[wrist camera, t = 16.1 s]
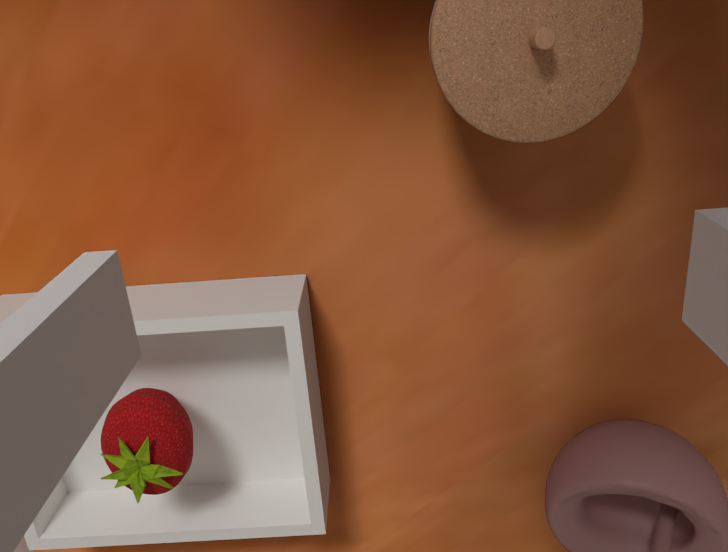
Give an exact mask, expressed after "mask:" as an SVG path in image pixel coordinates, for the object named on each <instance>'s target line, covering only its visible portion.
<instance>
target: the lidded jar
mask: <svg viewBox="0 0 728 552" xmlns="http://www.w3.org/2000/svg"><path fill="white" fill-rule="evenodd" d="M643 25H644V14H643V1H642V0H436V1H435V4H434V8H433V11H432V15H431V19H430V28H429V52H430V57H431V63H432V67H433V71H434V74H435V77H436V80H437V83H438V86H439V87H440V89H441V91H442V93H443V95H444V97H445V98H446V100H447V101H448V103H449V104H450V105H451V107H452V108H453V109H454V110H455V112H456V113H457V114H458V115H459V116H460V117H461V118H463V119H464V120H465V121H466V122H467V123H468V124H469V125H471V126H472V127H474V128H475V129H477V130H479V131H480V132H482V133H484V134H486V135H489V136H491V137H493V138H496V139H499V140H503V141H507V142H513V143H525V144H527V143H541V142H546V141H550V140H554V139H558V138H561V137H563V136H566V135H568V134H571V133H573V132H575V131H577V130H578V129H580V128H582V127H584V126H585V125H587V124H588V123H590V122H591V121H592V120H594V119H595V118H596V117H598V116H599V115H600V114H601V113H602V112H603V111H604V110H605V109H606V108H607V107H608V106H609V105H610V104H611V103H612V102H613V101H614V99H615V98H616V97H617V95H618V94H619V93H620V91H621V90H622V89H623V87H624V86H625V84H626V82H627V80H628V78H629V76H630V75H631V73H632V71H633V68H634V65H635V63H636V60H637V58H638V55H639V50H640V46H641V42H642V37H643Z"/></svg>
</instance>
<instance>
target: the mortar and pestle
mask: <svg viewBox="0 0 728 552" xmlns="http://www.w3.org/2000/svg"><path fill="white" fill-rule="evenodd" d="M545 509H546V515H547V519H548V523H549V525H550V527H551V529H552V531H553V533H554V535H555V536H556V538H557V539H558V540H559V542H560V543H561V544H562V545H563V546H564V547H565V548H566V549H568V550H569V551H570V552H726V551H727V548H728V502H727V497H726V494H725V491H724V488H723V486H722V483H721V481H720V479H719V477H718V475H717V474H716V472H715V470H714V469H713V467H712V466H711V464H710V463H709V462H708V460H707V459H706V458H705V457H704V456H703V455H702V454H701V453H700V451H699V450H698V449H696V448H695V447H694V446H693V445H692V444H691V443H689V442H688V441H687V440H685V439H684V438H683V437H681V436H679V435H678V434H676V433H674V432H673V431H671V430H668V429H666V428H664V427H662V426H659V425H656V424H653V423H649V422H644V421H639V420H612V421H607V422H603V423H599V424H596V425H594V426H591V427H589V428H587V429H585V430H583V431H582V432H580V433H578V434H577V435H576V436H574V437H573V438H572V439H571V440H570V441H569V442H568V443H567V444H566V445H565V446H564V447H563V448H562V449H561V451H560V452H559V454H558V455H557V457H556V458H555V460H554V462H553V464H552V467H551V469H550V471H549V475H548V478H547V483H546V490H545Z"/></svg>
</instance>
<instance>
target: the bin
mask: <svg viewBox="0 0 728 552" xmlns="http://www.w3.org/2000/svg"><path fill="white" fill-rule="evenodd" d="M126 291H127V295H128V299H129V304H130V308H131V312H132V316H133V321H134V325H135V329H136V333H137V338H138V342H139V346H140V351H141V357H140V358H139V360H138V361H137V363H136V364H135V366H134V368H133V369H132V371H131V372H130V374H129V375H128V377H127V378H126V380H125V381H124V383H123V384H122V386H121V387H120V389H119V391H118V392H117V394H116V395H115V397H114V398H113V400H112V401H111V403H110V404H109V406H108V407H107V409H106V410H105V412H104V413H103V415H102V417H101V418H100V420H99V421H98V423H97V424H96V426H95V427H94V429H93V430H92V432H91V433H90V435H89V436H88V438H87V440H86V441H85V443H84V444H83V446H82V447H81V449H80V450H79V452H78V453H77V455H76V456H75V458H74V459H73V461H72V463H71V464H70V466H69V467H68V469H67V470H66V472H65V473H64V475H63V476H62V478H61V479H60V481H59V482H58V484H57V485H56V487H55V489H54V490H53V492H52V493H51V495H50V496H49V498H48V499H47V501H46V502H45V504H44V505H43V507H42V508H41V510H40V512H39V513H38V515H37V516H36V518H35V519H34V521H33V522H32V524H31V525H30V527H29V528H28V530H27V531H26V533H25V535H24V538H25V540H26V543H27V546H28V549H29V550H46V549H64V548H82V547H100V546H119V545H137V544H155V543H173V542H191V541H210V540H228V539H246V538H264V537H282V536H301V535H319V534H326V527H327V514H328V501H329V489H330V472H329V464H328V455H327V447H326V438H325V430H324V421H323V413H322V404H321V396H320V387H319V379H318V370H317V362H316V353H315V345H314V336H313V328H312V319H311V311H310V302H309V294H308V285H307V277H306V274H300V275H286V276H271V277H256V278H242V279H227V280H212V281H198V282H183V283H168V284H154V285H139V286H126ZM37 293H38V292H36V293H21V294H7V295H1V296H0V324H2V323H3V322H4V321H5V320H6V319H7V318H9V317H10V316H11V315H12V314H13V313H14V312H16V311H17V310H18V309H19V308H20V307H21V306H23V305H24V304H25V303H26V302H27V301H28V300H30V299H31V298H32V297H33V296H34V295H35V294H37ZM142 388H154V389H159V390H164V391H166V392H169V393H170V394H172V395H173V396H174V397H175V398H176V399H177V400H178V401H179V402H180V403H181V405H182V406H183V407H184V409H185V410H186V412H187V414H188V416H189V418H190V421H191V423H192V428H193V458H192V463H191V466H190V468H189V470H188V472H187V473H186V475H185V476H184V477H183V479H182V480H181V481H180V483H179V484H178V485H177V486H176V487H175V488H173V489H172V490H170V491H168V492H166V493H163V494H158V495H148V494H142V496H141V498H140V501H139V503H138V504H137V501H136V498H135V496H134V493H133V490H131V489H129V488H127V487H125V486H121V487H118V488H115V486H116V483H117V481H118V480H111V479H101V478H102V477H104V476H107V475H109V474H111V473H112V472H111V471H110V469H109V467H108V466H107V464H106V462H105V460H104V457H103V456H102V455H100V454H102V450H101V433H102V429H103V425H104V422H105V419H106V416H107V414H108V412H109V410H110V409H111V407H112V406H113V405H114V404H115V403H116V402H117V401H119V400H120V399H122V398H123V397H125V396H126V395H128V394H129V393H131V392H133V391H135V390H137V389H142Z"/></svg>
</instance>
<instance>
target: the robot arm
mask: <svg viewBox="0 0 728 552" xmlns="http://www.w3.org/2000/svg"><path fill="white" fill-rule="evenodd" d="M682 321H683V322H684V323H685V324H686V325H687V326H688V327H689V328H690V329H691V330H692V331H693V332H694V333H695V334H696V335H697V336H698V337H699V338H700V339H701V340H702V341H703V342H704V343H705V344H706V345H707V346H708V347H709V348H710V349H711V350H712V351H713V352H714V353H715V354H716V355H717V356H718V357H719V358H720V359H721V360H722V361H723V362H724V363H725V364H726V365H727V366H728V207H727V208H713V209H699V210H695V215H694V224H693V232H692V240H691V248H690V256H689V264H688V272H687V280H686V289H685V297H684V305H683V313H682ZM140 357H141V351H140V346H139V342H138V338H137V333H136V329H135V325H134V321H133V316H132V312H131V308H130V304H129V299H128V295H127V291H126V286H125V282H124V278H123V274H122V269H121V265H120V261H119V256H118V252H117V250H113V251H98V252H84V253H83V254H82V255H81V256H80V257H79V258H77V259H76V260H75V261H74V262H73V263H72V264H70V265H69V266H68V267H67V268H66V269H65V270H63V271H62V272H61V273H60V274H59V275H58V276H56V277H55V278H54V279H53V280H52V281H51V282H49V283H48V284H47V285H46V286H45V287H44V288H42V289H41V290H40V291H39V292H38V293H37V294H35V295H34V296H33V297H32V298H31V299H30V300H28V301H27V302H26V303H25V304H24V305H23V306H21V307H20V308H19V309H18V310H17V311H16V312H14V313H13V314H12V315H11V316H10V317H9V318H7V319H6V320H5V321H4V322H3V323H2V324H0V552H13V551H14V550H15V548H16V547H17V545H18V544H19V542H20V541H21V539H22V538H23V536H24V535H25V533H26V531H27V530H28V528H29V527H30V525H31V524H32V522H33V521H34V519H35V518H36V516H37V515H38V513H39V512H40V510H41V508H42V507H43V505H44V504H45V502H46V501H47V499H48V498H49V496H50V495H51V493H52V492H53V490H54V489H55V487H56V485H57V484H58V482H59V481H60V479H61V478H62V476H63V475H64V473H65V472H66V470H67V469H68V467H69V466H70V464H71V463H72V461H73V459H74V458H75V456H76V455H77V453H78V452H79V450H80V449H81V447H82V446H83V444H84V443H85V441H86V440H87V438H88V436H89V435H90V433H91V432H92V430H93V429H94V427H95V426H96V424H97V423H98V421H99V420H100V418H101V417H102V415H103V413H104V412H105V410H106V409H107V407H108V406H109V404H110V403H111V401H112V400H113V398H114V397H115V395H116V394H117V392H118V391H119V389H120V387H121V386H122V384H123V383H124V381H125V380H126V378H127V377H128V375H129V374H130V372H131V371H132V369H133V368H134V366H135V364H136V363H137V361H138V360H139V358H140Z"/></svg>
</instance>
